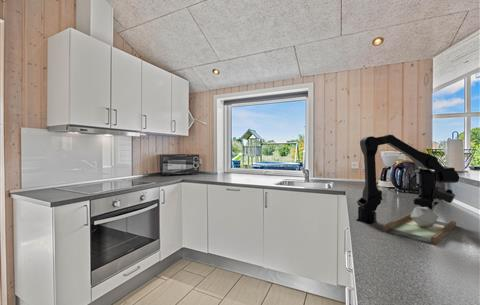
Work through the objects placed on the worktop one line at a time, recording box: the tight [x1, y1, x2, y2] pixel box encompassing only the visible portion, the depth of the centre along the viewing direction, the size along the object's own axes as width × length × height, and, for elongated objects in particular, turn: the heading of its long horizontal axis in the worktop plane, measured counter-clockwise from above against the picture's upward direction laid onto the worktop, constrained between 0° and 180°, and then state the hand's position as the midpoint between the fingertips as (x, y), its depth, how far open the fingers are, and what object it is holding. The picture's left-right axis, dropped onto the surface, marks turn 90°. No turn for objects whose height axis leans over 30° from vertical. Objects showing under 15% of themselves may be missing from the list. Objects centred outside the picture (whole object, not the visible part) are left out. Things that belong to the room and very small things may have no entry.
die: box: [410, 206, 439, 227], centre depth 93 cm, size 8×9×10 cm
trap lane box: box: [383, 211, 457, 246], centre depth 92 cm, size 16×34×2 cm, turn 126°
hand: (429, 218), depth 96 cm, fingers closed
